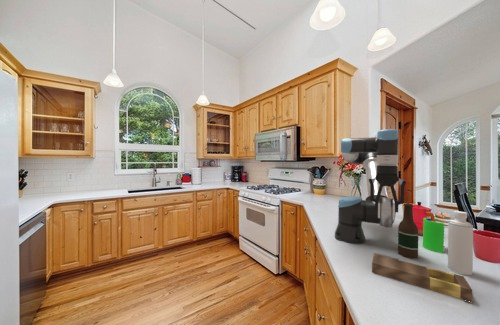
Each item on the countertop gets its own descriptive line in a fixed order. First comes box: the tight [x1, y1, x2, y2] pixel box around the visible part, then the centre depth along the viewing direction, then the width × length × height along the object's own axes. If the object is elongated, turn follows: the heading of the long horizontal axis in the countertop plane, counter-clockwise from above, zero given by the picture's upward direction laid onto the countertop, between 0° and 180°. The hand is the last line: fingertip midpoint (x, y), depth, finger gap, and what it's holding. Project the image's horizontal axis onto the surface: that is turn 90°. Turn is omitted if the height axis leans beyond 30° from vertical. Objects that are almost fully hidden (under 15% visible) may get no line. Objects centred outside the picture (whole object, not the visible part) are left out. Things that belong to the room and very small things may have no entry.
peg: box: [379, 197, 394, 229], centre depth 84 cm, size 4×4×12 cm
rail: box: [371, 253, 473, 303], centre depth 70 cm, size 26×9×4 cm, turn 53°
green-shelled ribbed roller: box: [422, 211, 446, 254], centre depth 97 cm, size 9×8×18 cm
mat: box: [373, 252, 400, 260], centre depth 84 cm, size 9×9×1 cm
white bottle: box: [447, 210, 474, 276], centre depth 77 cm, size 7×7×25 cm
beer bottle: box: [397, 202, 419, 260], centre depth 89 cm, size 8×8×24 cm
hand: (386, 218), depth 84 cm, fingers closed on peg, 4 cm apart
